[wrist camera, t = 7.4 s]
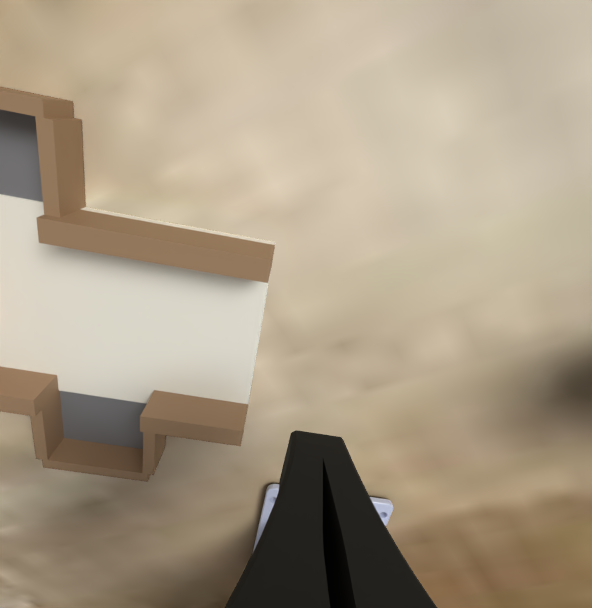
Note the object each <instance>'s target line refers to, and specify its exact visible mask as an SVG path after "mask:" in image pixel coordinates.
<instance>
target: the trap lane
mask: <svg viewBox="0 0 592 608" xmlns="http://www.w3.org/2000/svg"><path fill="white" fill-rule="evenodd" d="M275 243H276V242H274V241H268V240H263V239H257V238H252V237H247V236H241V235H236V234H230V233H225V232H219V231H214V230H208V229H203V228H197V227H192V226H187V225H181V224H176V223H170V222H165V221H159V220H154V219H148V218H143V217H138V216H132V215H127V214H121V213H116V212H110V211H105V210H99V209H94V208H89V207H86V205H85V183H84V161H83V139H82V120H81V119H76V118H74V111H73V101H68V100H63V99H59V98H54V97H49V96H44V95H39V94H34V93H29V92H24V91H19V90H14V89H9V88H4V87H0V411H2V412H9V413H16V414H22V415H29V416H30V417H31V424H32V432H33V439H34V446H35V454H36V459H42V463H43V467H45V468H52V469H59V470H67V471H74V472H81V473H89V474H96V475H103V476H111V477H118V478H125V479H133V480H140V481H147V482H148V480H149V478H150V475H151V474H152V475H154V473H155V470H156V468H157V465H158V463H159V460H160V458H161V456H162V453H163V451H164V448H165V440H166V435H167V436H174V437H181V438H188V439H195V440H201V441H208V442H215V443H222V444H229V445H236V446H241V441H242V436H243V430H244V425H245V419H246V414H247V408H248V402H249V396H250V390H251V385H252V379H253V373H254V367H255V361H256V355H257V349H258V343H259V337H260V331H261V325H262V320H263V314H264V308H265V302H266V296H267V290H268V284H269V278H270V272H271V266H272V260H273V254H274V249H275Z"/></svg>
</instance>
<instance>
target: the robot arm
mask: <svg viewBox="0 0 592 608" xmlns="http://www.w3.org/2000/svg"><path fill="white" fill-rule="evenodd" d="M392 511H393V505H392V502H391V501H390V500H387V499H381V498H374V497H369V495H368V493H367V491H366V489H365V487H364V485H363V483H362V481H361V479H360V476H359V474H358V472H357V470H356V468H355V466H354V464H353V461H352V459H351V457H350V455H349V452H348V450H347V448H346V445H345V443H344V441H343V439H342V438H341V437H336V436H329V435H323V434H316V433H309V432H303V431H294V432H292V433H291V436H290V440H289V444H288V448H287V452H286V457H285V461H284V465H283V469H282V473H281V478H280V483H279V484H271V485H269V486H268V487H267V490H266V494H265V499H264V503H263V508H262V512H261V517H260V522H259V526H258V531H257V535H256V540H255V544H254V549H253V553H252V556H251V558H250V560H249V562H248V564H247V566H246V568H245V570H244V572H243V574H242V576H241V578H240V580H239V582H238V584H237V586H236V587H235V589H234V591H233V593H232V595H231V597H230V599H229V601H228V603H227V604H226V606H225V608H437V607H436V605H435V604H434V603H433V601H432V600H431V598H430V597H429V595H428V594H427V592H426V591H425V589H424V588H423V586H422V585H421V583H420V582H419V580H418V579H417V578H416V576H415V574H414V573H413V571H412V570H411V568H410V567H409V565H408V563H407V562H406V560H405V559H404V557H403V555H402V554H401V552H400V550H399V549H398V547H397V545H396V544H395V542H394V540H393V539H392V537H391V535H390V534H389V532H388V530H387V528H386V525H387V522H388V520H389V518H390V516H391V513H392Z"/></svg>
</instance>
